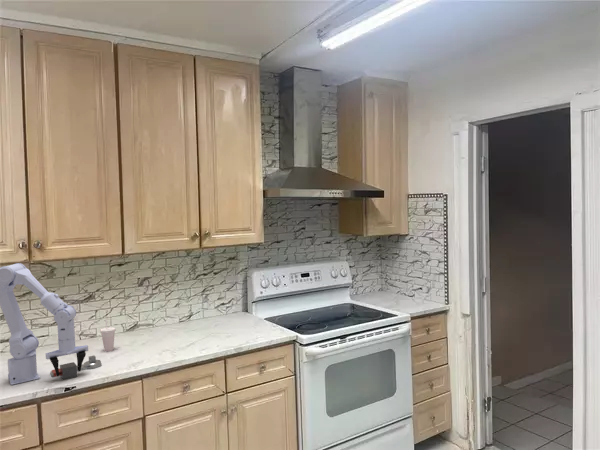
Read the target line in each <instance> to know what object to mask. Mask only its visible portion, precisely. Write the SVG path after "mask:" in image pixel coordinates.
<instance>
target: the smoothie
mask: <svg viewBox="0 0 600 450" xmlns="http://www.w3.org/2000/svg"><path fill="white" fill-rule="evenodd" d="M100 333H101V338H102V339H101V340H102V344H103V345H102V346H103V349H104V352H106V353H107V352H112V351H114V346H115V335H116V327H113V326H109V327H108V320H107V319H105V327H103V328H101V329H100Z"/></svg>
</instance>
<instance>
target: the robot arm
mask: <svg viewBox="0 0 600 450" xmlns="http://www.w3.org/2000/svg"><path fill="white" fill-rule="evenodd" d="M17 285H20V286H21V285H22V286H25V287H26V288H27V289H29V290H30V291H31V293H33V294H34V295H36V297H38V298H39V299H40V304H41V306H43V308H45V309H46V310H47V311H48V312H49V313H50V314H51V315H52V316H53V320H54V322H55V323H56V324H57V342H58V343H57V344H58V349H56V350H53V351H50V352H45V360H50V362H51V364H52V366H53V368H54V369H53V370H55V372H56V378H57V377H60V376H59V368H60V367H59V359H58V357H63V356H68V355H74V354H76V362H77V363H76V365H77V369H78V371H77V372H81V366H82V365H83V362H84V360H85V357H86V354H87V353H86V352H89V346H88V345H86V344H85V345H78V346H76V334H75V333H76V332H75V331H76V330H75V320H74V319H75V318H76V316H77V311H76V309H75V307H74V306H73V305H71V304H70V305H69V304H68V303H66V302H65V301H64V300H62V298H60V296H59V294H58V293H55V292H54V291H53V292H50V291H48V290H47V289H46V287H44V286H43V285H42V284H41V282H40V281H38V280H37V279H36V277H35V276H34V275H33V274H32V272H31V270H30V269H29V268H27V267H26V265H24V264H23V263H21V262H19V263H18V262H17V263H14V264H10V265H9V264H8V265H7V266H6V265H4V266H0V308H1V311H2V314H3V317H4V319H5V321H6V324H7V327H8V330H9V332H10V337H9V340H8V343H9V353H10V355H11V356H12V357H11V358H8V359H7V378H8V382H9V383H10V386H12V385H17V384H21V383H25V382H26V383H27V382H30V381H31V382H32V381H34V380H39V379H41V378H40V375H39V373H38V367H37V365H38V364H37V349H38V347H39V345H40V341H39V339H38V337H37V336H35V334H34V332H33V330H31V329H29V328H28V327H27V324H26V322H25V320H24V316H23V314H22V310H21V308H20V306H19V303H18V300H17V297H16V295H15V292H14V289H15V287H16V286H17Z"/></svg>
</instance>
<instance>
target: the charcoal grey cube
mask: <svg viewBox="0 0 600 450" xmlns="http://www.w3.org/2000/svg"><path fill="white" fill-rule="evenodd" d="M59 368H60V376H59V377H60V379H61V380H62V381H67V380H72V379H75V378H78V371H77V363H75V362H74V361H73V362H68V363H64V364H59Z"/></svg>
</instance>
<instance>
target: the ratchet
mask: <svg viewBox="0 0 600 450" xmlns="http://www.w3.org/2000/svg"><path fill="white" fill-rule="evenodd" d="M100 367H102V361H101V359H96V356H95V355H90V356H88V360H87V361H85V362H84V363H82V366H81V371H86V370H95V369H98V368H100ZM58 368H59V376H58V377H60V367H58ZM81 371H80V372H81ZM77 372H79V371H78V369H77ZM50 376H51V377H52V378H57V376H56V372H55V369H51V371H50Z"/></svg>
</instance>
